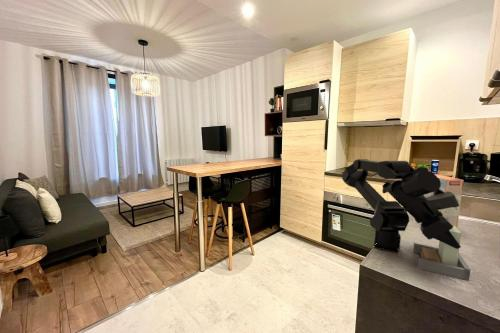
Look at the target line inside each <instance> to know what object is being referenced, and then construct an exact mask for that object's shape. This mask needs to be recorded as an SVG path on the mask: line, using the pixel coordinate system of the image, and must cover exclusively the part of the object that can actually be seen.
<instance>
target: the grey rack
mask: <svg viewBox="0 0 500 333" xmlns="http://www.w3.org/2000/svg"><path fill="white" fill-rule="evenodd" d="M422 247H424V248H430V249H435V251H436V253H437V255H438V248H439V247H436V246H431V245H425V244H419V243H415V242H413V247H412V248H413V250H412V251H413V252H414V253H418V254H421V251H422ZM417 263H418V264H417V268H418V269H420V270H425V271H429V272H433V273H436V274H440V275H445V276H449V277H452V278H456V279H461V280H464V281H470V275H471V268H470V267H469V265H468V264H467V262H466V261H465V259H464V258H463V257H462V255H461V254H460V253H459V254H458V262H457V267H456V266H452V265H448V264H443V263H439V262H434V261H430V260H426V259H422V258H420V257H419V258H418V262H417Z"/></svg>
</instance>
